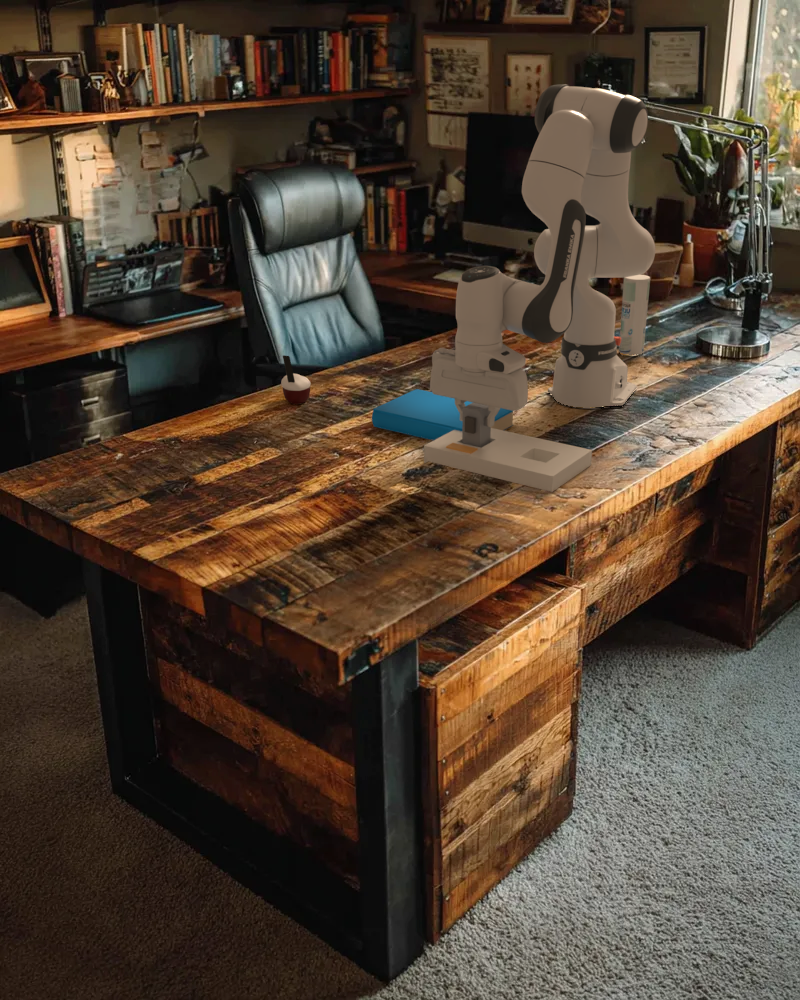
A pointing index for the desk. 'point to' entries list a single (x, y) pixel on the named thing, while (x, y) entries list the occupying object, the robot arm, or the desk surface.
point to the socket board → (512, 458)
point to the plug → (475, 425)
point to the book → (427, 415)
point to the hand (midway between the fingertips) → (477, 423)
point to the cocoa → (294, 385)
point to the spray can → (634, 314)
